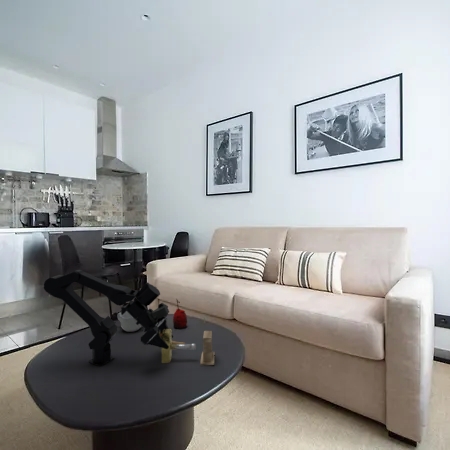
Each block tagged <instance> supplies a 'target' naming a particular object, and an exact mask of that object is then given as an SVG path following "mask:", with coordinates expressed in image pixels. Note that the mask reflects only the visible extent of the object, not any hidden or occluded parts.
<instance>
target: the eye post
mask: <svg viewBox="0 0 450 450" xmlns="http://www.w3.org/2000/svg"><path fill="white" fill-rule="evenodd" d="M212 331H213V330H204V331H203V337H202V352H201V357H200V363H199V366H200V365H214V366H215V356H214V355H215V353H216V352H215V351H213V332H212Z"/></svg>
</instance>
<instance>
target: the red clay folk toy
mask: <svg viewBox="0 0 450 450" xmlns="http://www.w3.org/2000/svg"><path fill="white" fill-rule="evenodd" d="M175 301H176V304H177V305H176V306H177V308H176V310H175V311H174V314H173V317H172V323H173V326H172V327H174V328H175V329H184V328H187V326H188V317H187V314H186V311H185V310H183V309H181V308H179V304H180V301H179V299H178V298H175Z"/></svg>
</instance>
